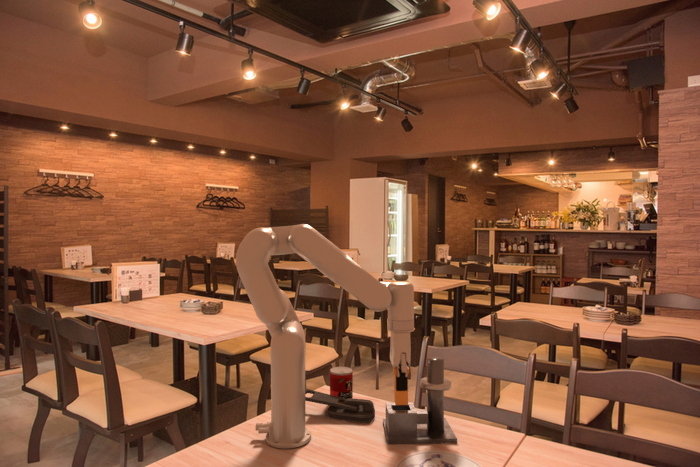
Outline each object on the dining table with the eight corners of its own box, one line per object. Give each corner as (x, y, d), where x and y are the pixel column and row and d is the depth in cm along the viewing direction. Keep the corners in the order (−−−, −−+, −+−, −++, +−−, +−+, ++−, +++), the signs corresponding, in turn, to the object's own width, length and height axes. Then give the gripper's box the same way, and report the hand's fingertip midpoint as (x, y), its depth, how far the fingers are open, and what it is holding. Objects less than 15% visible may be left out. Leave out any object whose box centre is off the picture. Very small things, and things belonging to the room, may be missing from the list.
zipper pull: (302, 386, 153) (376, 392, 148) (302, 406, 153) (376, 412, 148) (293, 396, 144) (371, 402, 139) (293, 417, 144) (372, 424, 139)
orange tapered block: (394, 405, 132) (393, 369, 131) (393, 401, 135) (392, 366, 134) (409, 405, 132) (409, 368, 131) (408, 401, 135) (407, 365, 134)
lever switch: (387, 444, 126) (387, 366, 126) (382, 422, 140) (382, 352, 140) (457, 443, 127) (457, 365, 126) (445, 421, 141) (445, 352, 140)
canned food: (340, 408, 151) (340, 375, 151) (325, 401, 157) (325, 369, 157) (357, 402, 156) (357, 370, 156) (341, 396, 162) (341, 365, 162)
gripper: (385, 319, 141) (385, 379, 141) (391, 331, 125) (391, 399, 125) (409, 319, 141) (409, 379, 141) (418, 331, 125) (418, 398, 125)
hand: (401, 388), depth 133 cm, fingers closed on orange tapered block, 2 cm apart
